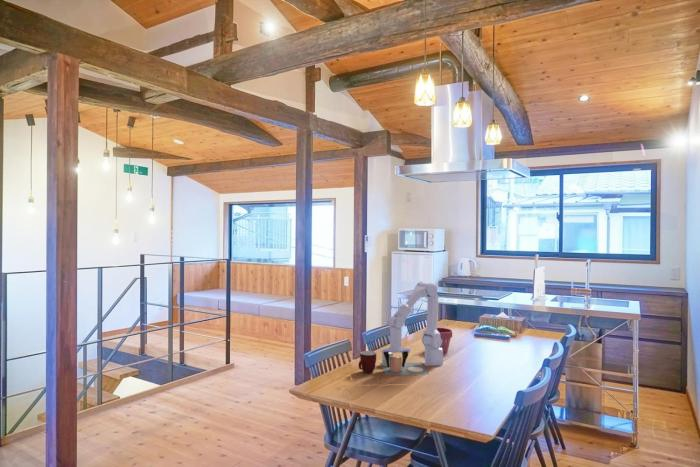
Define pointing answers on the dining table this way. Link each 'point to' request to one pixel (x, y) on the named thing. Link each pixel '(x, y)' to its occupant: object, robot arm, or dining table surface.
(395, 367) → the tan piece
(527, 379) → the dining table surface
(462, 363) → the dining table surface
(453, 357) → the dining table surface
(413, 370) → the pad
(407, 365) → the mat
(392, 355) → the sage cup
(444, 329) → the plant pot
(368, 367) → the mug
